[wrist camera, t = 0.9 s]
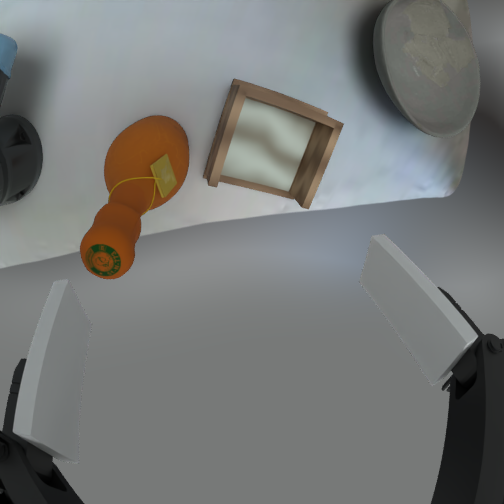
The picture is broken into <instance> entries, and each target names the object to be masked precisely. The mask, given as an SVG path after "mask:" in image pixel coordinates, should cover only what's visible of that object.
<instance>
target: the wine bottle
mask: <svg viewBox="0 0 504 504" xmlns="http://www.w3.org/2000/svg"><path fill="white" fill-rule="evenodd" d="M188 167H189V146H188V139H187V136H186V133H185V131H184V130H183V128H182V127H181V126H180V124H178V123H177V122H176V121H175V120H173V119H171V118H169V117H166V116H158V115H157V116H150V117H146V118H144V119H141V120H139V121H137V122H136V123H134V124H132V125H130V126H129V127H128V128H126V129H125V130H124V131H122V132H121V133H120V134H119V135H118V136H117V137H116V139H115V140H114V141H113V143H112V144H111V146H110V148H109V150H108V152H107V156H106V159H105V166H104V176H105V182H106V186H107V189H108V191H109V193H110V195H109V200H108V204H106V205H104V206H103V207H102V208H101V209H100V210H99V212H98V213H97V215H96V216H95V219H94V223H93V225H92V227H91V228H90V229H89V231H88V232H87V233H86V234H85V236H84V238H83V240H82V242H81V245H80V252H81V258H82V261H83V263H84V265H85V267H86V268H87V270H88V271H89V272H91V273H92V274H94V275H95V276H98V277H100V278H103V279H115V278H119V277H121V276H122V275H123V274H125V273H126V272H127V271H128V270H129V269H130V267H131V266H132V264H133V261H134V258H135V251H134V248H135V243H136V242H137V240H138V238H139V236H140V232H141V219H140V217H141V216H142V215H143V214H145V213H146V212H147V211H148V210H151V209H154V208H157V207H159V206H161V205H162V204H164V203H166V202H167V201H168V200H170V199H171V198H172V197H173V196H174V195H175V194H176V193H177V192H178V190H179V189H180V187H181V186H182V184H183V182H184V180H185V178H186V175H187V171H188Z"/></svg>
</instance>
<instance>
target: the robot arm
mask: <svg viewBox="0 0 504 504" xmlns="http://www.w3.org/2000/svg"><path fill="white" fill-rule="evenodd" d="M16 54H17V44H16V42H15V40H14V39H12V38H11V37H8V36H6V35H3V34H0V106H1V103H2V99H3V95H4V92H5V88H6V85H7V82H8V79H10V77H11V73H10V72H11V69H12V66H13V62H14V59H15V57H16ZM41 167H42V147H41V143H40V139H39V136H38V134H37V132H36V130H35V128H34V127H33V126H32V124H31V123H30V122H29V121H28V120H26V119H25V118H23V117H21V116H18V115H8V116H4V117H1V118H0V206H2V205H5V204H9V203H13V202H16V201H18V200H20V199H21V198H23V197H24V196H25V195H26V194H27V193H29V192H30V191H31V190H32V188H33V187H34V186H35V184H36V182H37V180H38V178H39V175H40V172H41ZM359 283H360V284H361V285H362V287H363V288H364V289H365V291H366V292H367V293H368V295H369V296H370V297H371V299H372V300H373V301H374V303H375V304H376V305H377V307H378V308H379V309H380V311H381V312H382V314H383V315H384V316H385V318H386V319H387V321H388V322H389V323H390V325H391V326H392V328H393V329H394V330H395V332H396V333H397V335H398V336H399V337H400V339H401V340H402V342H403V343H404V345H405V346H406V348H407V349H408V351H409V352H410V354H411V355H412V357H413V358H414V360H415V361H416V363H417V364H418V366H419V367H420V368H421V370H422V372H423V373H424V375H425V377H426V378H427V380H428V381H429V383H430V384H431V386H433V385H434V384H436V383H438V382H439V381H441V380H442V379H444V378H445V377H446V376H447V374H448V373H449V372H450V371H452V372H453V375H452V376H451V377H450V378H449V379H448V380H447V381H446V383H445V384H444V385H443V386H442V390H445V388H447V386H448V385H449V384H450V386H449V387H448V389H447V391H448V392H450V398H449V411H448V421H447V429H446V437H445V443H444V450H443V455H442V461H441V465H440V470H439V475H438V479H437V483H436V487H435V491H434V494H433V498H432V501H431V504H504V339H499V338H498V337H497V336H495V335H493V334H486V335H484V334H482V332H481V331H480V330H479V329H478V327H477V326H476V325H475V324H474V323H473V321H472V320H471V319H470V318H469V317H468V315H467V314H466V313H465V312H464V311H463V310H461V307H460V306H459V305H458V304H457V303H455V302H456V301H455V300H454V299H453V298H452V297H451V296H450V295H449V294H448V293H447V292H445V291H444V290H442V289H441V288H439V287H436V286H435V285H434V284H433V282H432V281H431V280H430V279H429V278H428V277H427V276H426V275H425V274H424V273H423V272H422V271H421V270H420V269H419V268H418V267H417V266H416V265H415V264H414V263H413V262H412V261H411V260H410V259H409V258H408V257H407V256H406V255H405V254H404V253H403V252H402V251H401V250H400V249H399V248H398V247H397V246H396V245H395V244H394V243H393V242H392V241H391V240H390V239H389V238H388V237H386V235H385V234H382V235H376V236H372V237H371V241H370V245H369V249H368V252H367V256H366V260H365V264H364V267H363V270H362V274H361V277H360V281H359ZM91 328H92V324H91V322H90V320H89V318H88V316H87V314H86V313H85V311H84V309H83V307H82V305H81V303H80V301H79V299H78V297H77V295H76V293H75V291H74V289H73V287H72V284H71V282H70V280H69V279H64V280H57V281H54V283H53V285H52V288H51V290H50V292H49V295H48V297H47V300H46V303H45V305H44V308H43V311H42V313H41V316H40V319H39V322H38V325H37V328H36V331H35V334H34V337H33V340H32V343H31V347H30V350H29V353H28V357H27V359H21V360H20V362H19V364H18V365H17V367H16V369H15V371H14V375H13V379H12V385H11V388H10V394H9V397H8V402H7V407H6V413H5V419H4V425H3V431H0V504H84V503H83V501H82V500H81V499H80V498H79V497H78V495H77V494H76V493H75V491H74V490H73V489H72V487H71V486H70V485H69V483H68V482H67V481H66V479H65V478H64V476H63V475H62V473H61V472H60V471H59V469H58V467H57V466H56V465H55V464H54V463H53V462H52V459H53V457H54V458H56V459H58V460H60V461H63V462H69V463H77V464H79V425H80V409H81V397H82V386H83V378H84V370H85V362H86V356H87V350H88V344H89V338H90V333H91Z"/></svg>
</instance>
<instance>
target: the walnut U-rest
mask: <svg viewBox="0 0 504 504" xmlns="http://www.w3.org/2000/svg"><path fill="white" fill-rule="evenodd" d="M327 114H328V112H326V111H323V110H321V109H319V108H316V107H314V106H312V105H309V104H307V103H304V102H302V101H299V100H297V99H294V98H291V97H289V96H286V95H283V94H281V93H278V92H275V91H272V90H269V89H266V88H263V87H260V86H257V85H254V84H251V83H248V82H244V81H241V80H237V79H234V80H233V82H232V85H231V88H230V91H229V94H228V97H227V100H226V103H225V106H224V109H223V112H222V115H221V118H220V121H219V125H218V128H217V131H216V134H215V138H214V141H213V144H212V148H211V151H210V154H209V158H208V161H207V165H206V168H205V172H204V175H203V178H205V179H207V181H208V186H213V187H217V185H218V182H224V183H228V184H232V185H237V186H241V187H245V188H250V189H254V190H258V191H262V192H266V193H270V194H274V195H278V196H282V197H286V198H290V199H295V200H296V201H297V202H298V203H299V205H300V206H301V207H302V208H306V209H309V207H310V205H311V203H312V200H313V198H314V196H315V193H316V191H317V188H318V186H319V184H320V181H321V179H322V177H323V174H324V172H325V169H326V167H327V164H328V162H329V160H330V157H331V155H332V152H333V150H334V147H335V145H336V142H337V140H338V137H339V135H340V132H341V130H342V127H343V125H344V124H343V123H341V122H339V121H337V120H334V119H332V118H330V117H328V116H327Z"/></svg>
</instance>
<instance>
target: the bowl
mask: <svg viewBox="0 0 504 504" xmlns="http://www.w3.org/2000/svg"><path fill="white" fill-rule="evenodd" d="M373 50H374V59H375V65H376V69H377V72H378V75H379V78H380V80H381V83H382V85H383V87H384V89H385V91H386V93H387V94H388V96H389V97H390V99H391V101H392V102H393V103H394V105H395V106H396V107H397V109H398V110H399V111H400V112H401V114H402V115H403V116H404V117H405V118H406V119H407V120H408V121H409V122H411V123H412V124H413V125H414V126H415V127H416V128H418V129H419V130H421V131H422V132H424V133H426V134H428V135H431V136H434V137H439V138H447V137H452V136H455V135H457V134H459V133H460V132H462V131H463V130H464V129H465V128H466V127H467V125H468V124H469V123H470V121H471V119H472V118H473V116H474V113H475V111H476V108H477V104H478V100H479V93H480V70H479V63H478V59H477V55H476V52H475V49H474V46H473V43H472V41H471V38H470V36H469V33H468V32H467V30H466V28H465V27H464V25H463V24H462V22H461V21H460V20H459V18H458V17H457V16H456V15H455V13H454V12H453V11H452V10H451V9H450V8H449V7H448V6H447V5H446V4H445V3H444V2H442V1H441V0H391V1H390V2H389V3H388V4H387V5H386V6H385V7H384V8H383V9H382V11H381V12H380V14H379V16H378V18H377V21H376V24H375V28H374V34H373Z"/></svg>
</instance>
